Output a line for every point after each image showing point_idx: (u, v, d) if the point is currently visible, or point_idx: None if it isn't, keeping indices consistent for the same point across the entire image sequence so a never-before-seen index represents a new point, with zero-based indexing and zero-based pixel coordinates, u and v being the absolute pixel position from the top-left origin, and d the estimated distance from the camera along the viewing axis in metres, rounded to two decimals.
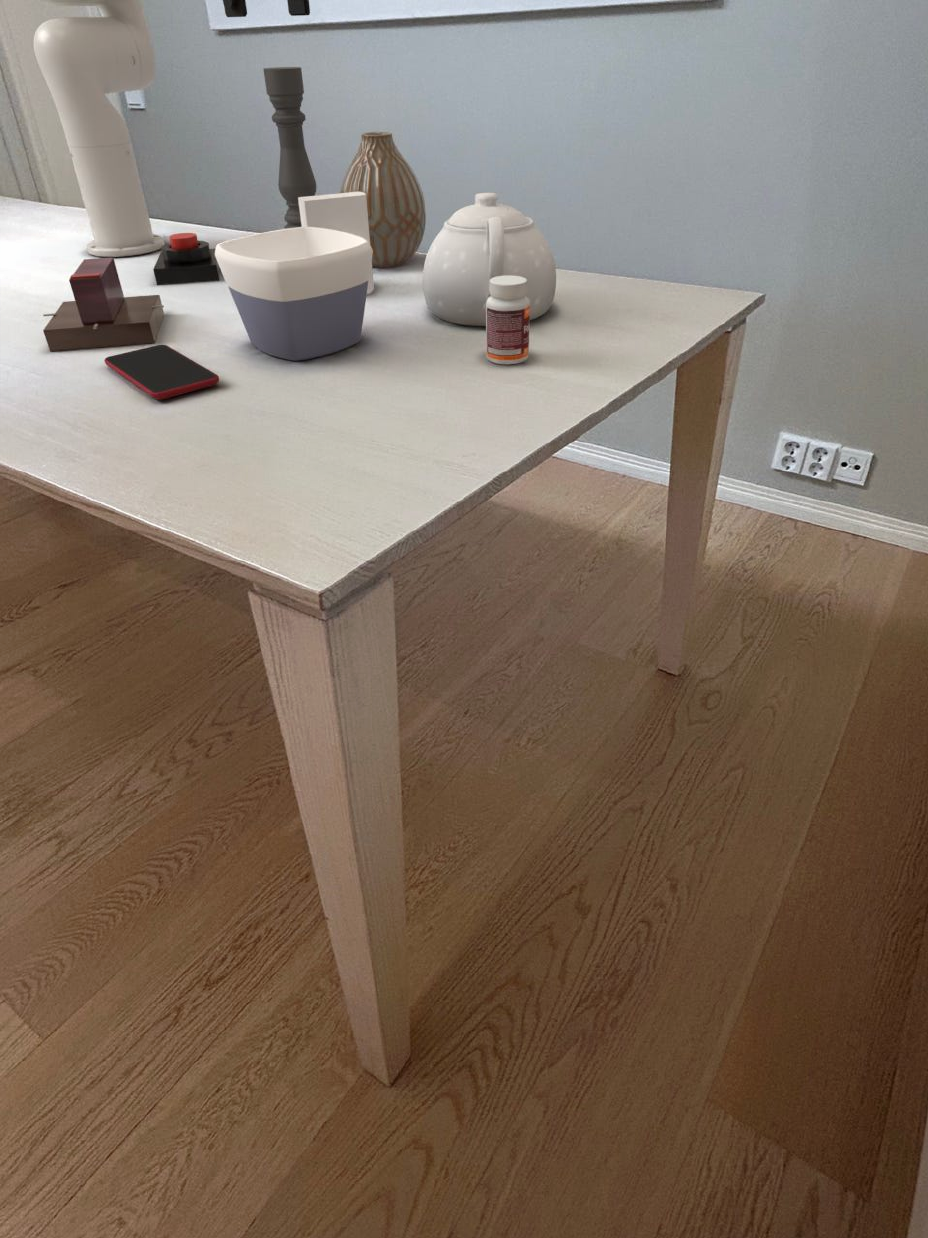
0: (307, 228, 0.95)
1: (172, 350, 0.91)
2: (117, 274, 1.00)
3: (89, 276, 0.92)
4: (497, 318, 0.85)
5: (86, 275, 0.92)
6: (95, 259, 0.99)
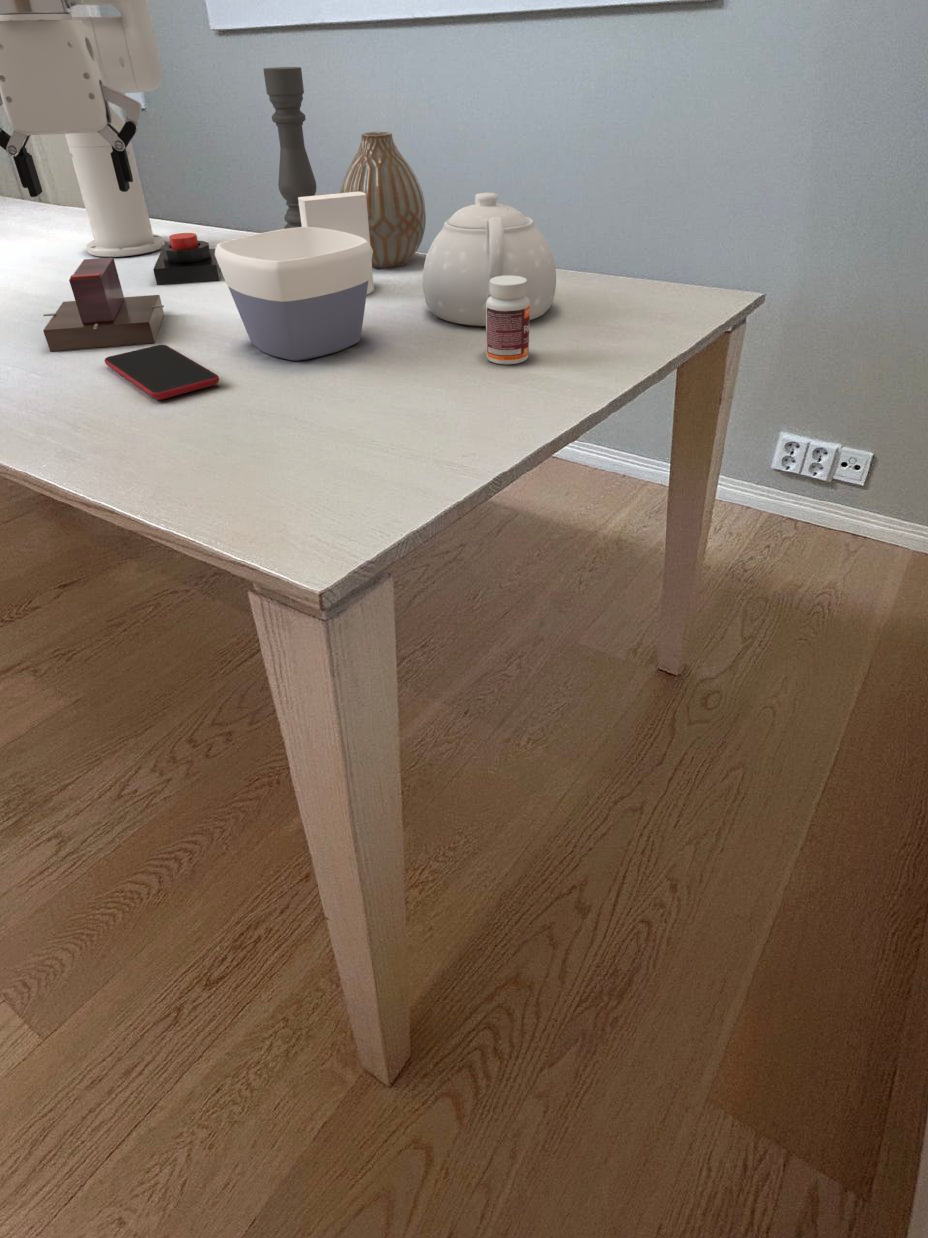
0: (307, 228, 0.95)
1: (172, 350, 0.91)
2: (117, 274, 1.00)
3: (89, 276, 0.92)
4: (497, 318, 0.85)
5: (86, 275, 0.92)
6: (95, 259, 0.99)
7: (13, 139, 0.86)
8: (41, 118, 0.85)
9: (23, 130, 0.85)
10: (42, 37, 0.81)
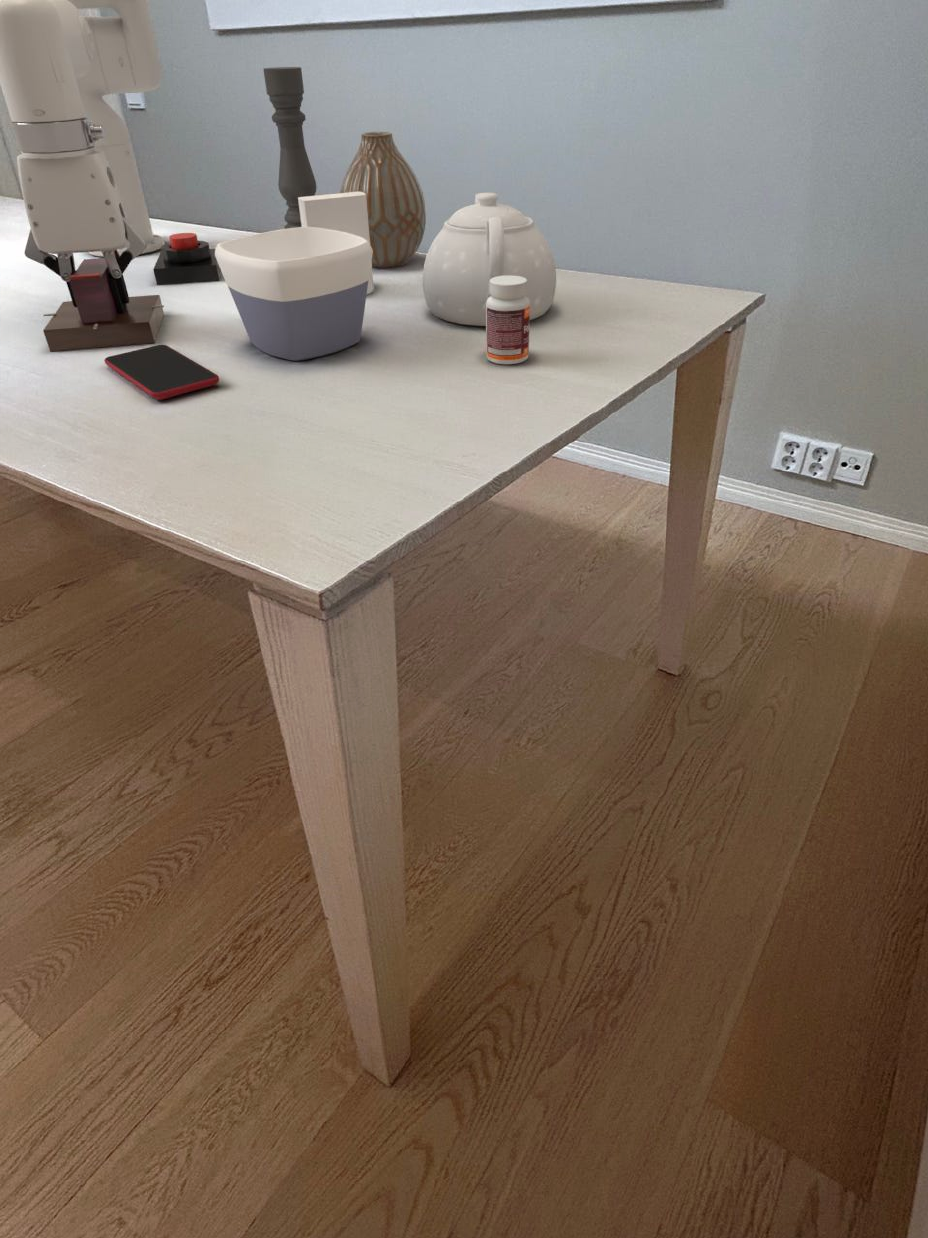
0: (307, 228, 0.95)
1: (172, 350, 0.91)
2: None
3: (89, 276, 0.92)
4: (497, 318, 0.85)
5: (86, 275, 0.92)
6: (95, 259, 0.99)
7: (67, 267, 0.94)
8: (65, 240, 0.91)
9: (48, 250, 0.92)
10: (67, 171, 0.87)
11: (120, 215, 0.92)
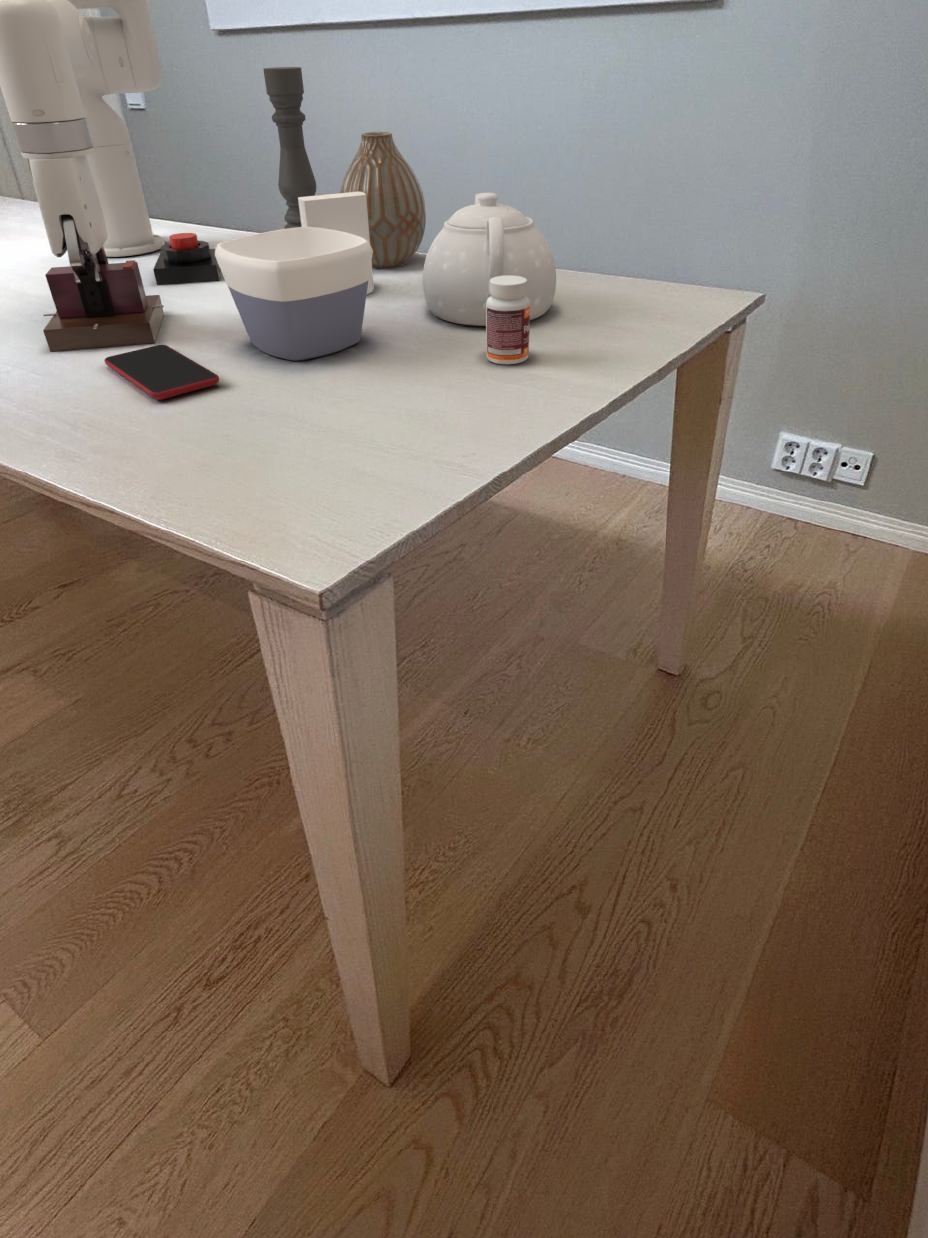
0: (307, 228, 0.95)
1: (172, 350, 0.91)
2: None
3: (133, 262, 0.96)
4: (497, 318, 0.85)
5: (130, 263, 0.96)
6: (52, 271, 0.95)
7: (98, 267, 0.93)
8: (99, 236, 0.92)
9: (96, 250, 0.91)
10: (88, 166, 0.90)
11: None
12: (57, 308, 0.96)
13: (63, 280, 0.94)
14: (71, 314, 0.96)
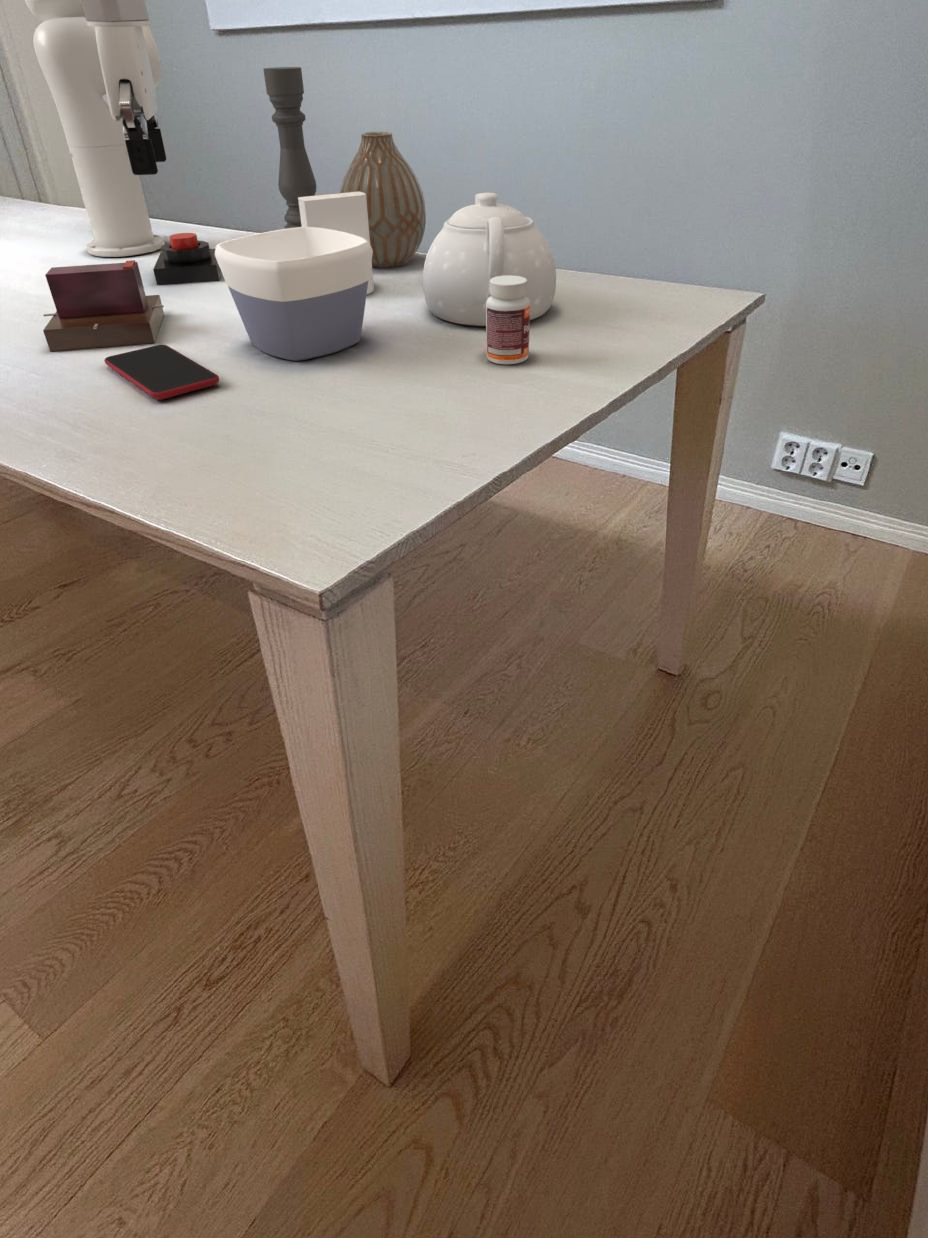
0: (307, 228, 0.95)
1: (172, 350, 0.91)
2: None
3: (133, 262, 0.96)
4: (497, 318, 0.85)
5: (130, 263, 0.96)
6: (52, 271, 0.95)
7: (145, 125, 1.02)
8: (152, 104, 1.04)
9: (150, 116, 1.03)
10: (143, 38, 1.01)
11: None
12: (57, 308, 0.96)
13: (63, 280, 0.94)
14: (71, 314, 0.96)
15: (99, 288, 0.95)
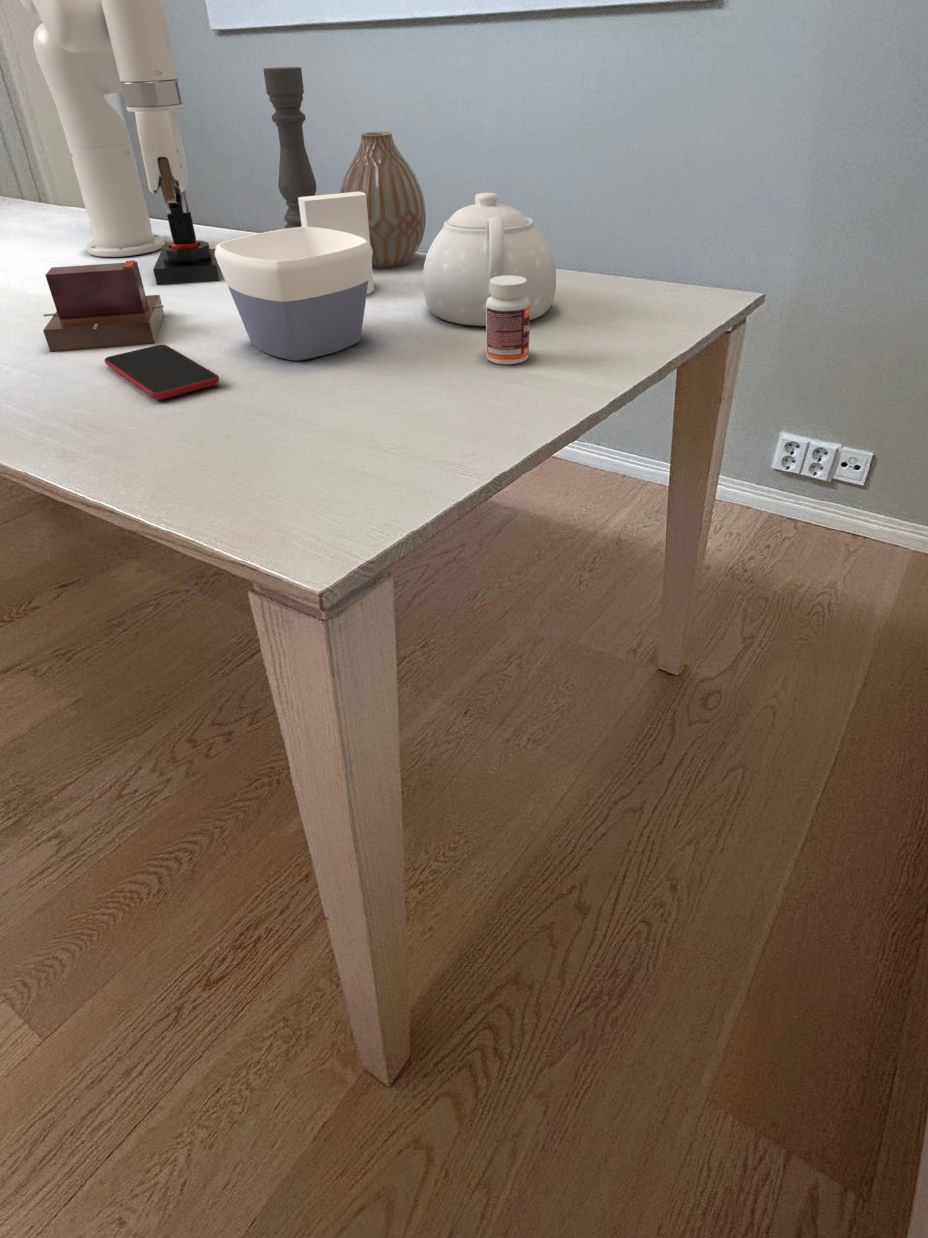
0: (307, 228, 0.95)
1: (172, 350, 0.91)
2: None
3: (133, 262, 0.96)
4: (497, 318, 0.85)
5: (130, 263, 0.96)
6: (52, 271, 0.95)
7: None
8: (185, 178, 1.13)
9: (184, 188, 1.12)
10: (177, 119, 1.11)
11: None
12: (57, 308, 0.96)
13: (63, 280, 0.94)
14: (71, 314, 0.96)
15: (99, 288, 0.95)
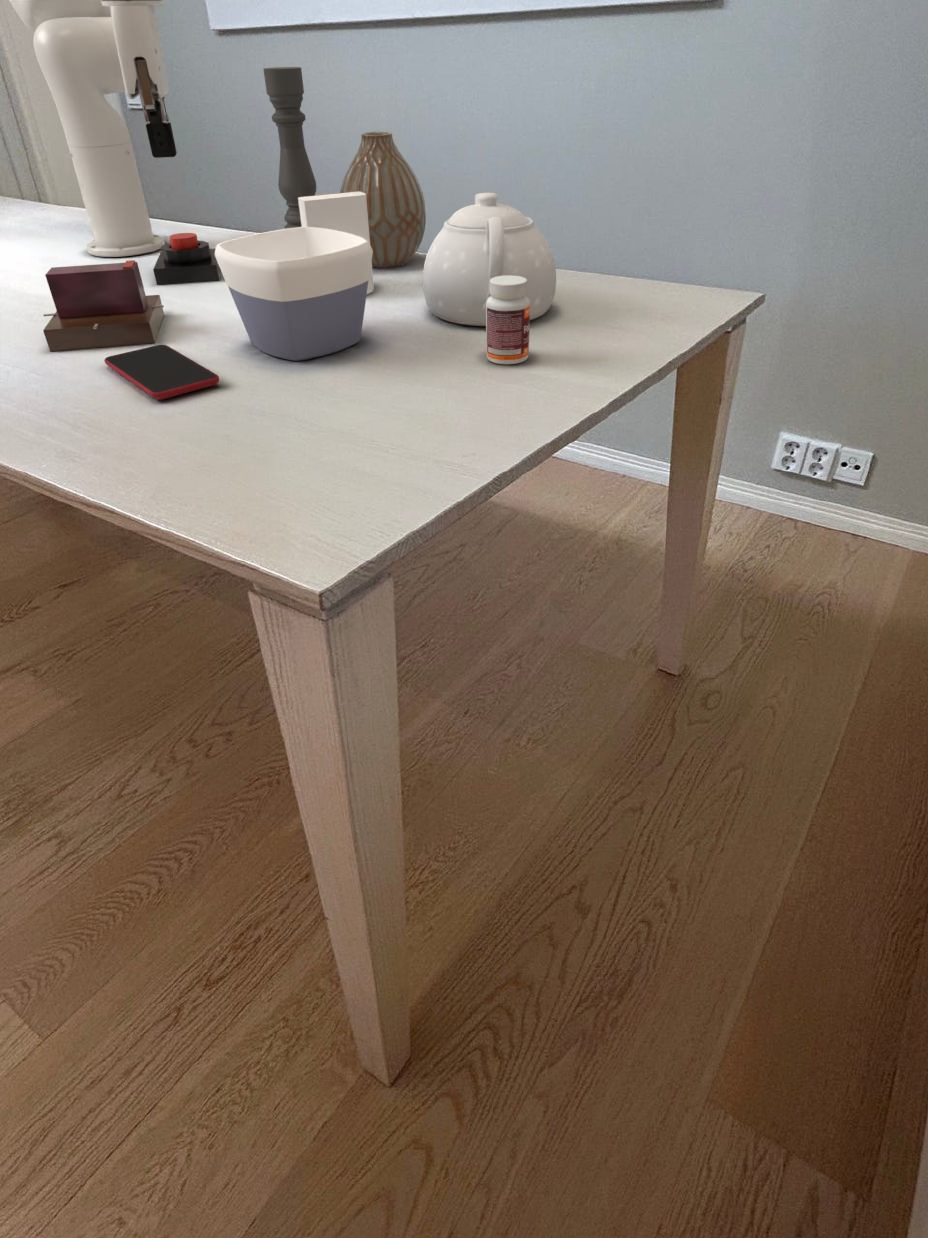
0: (307, 228, 0.95)
1: (172, 350, 0.91)
2: None
3: (133, 262, 0.96)
4: (497, 318, 0.85)
5: (130, 263, 0.96)
6: (52, 271, 0.95)
7: (165, 110, 1.09)
8: (165, 83, 1.07)
9: (163, 93, 1.06)
10: (156, 18, 1.04)
11: None
12: (57, 308, 0.96)
13: (63, 280, 0.94)
14: (71, 314, 0.96)
15: (99, 288, 0.95)
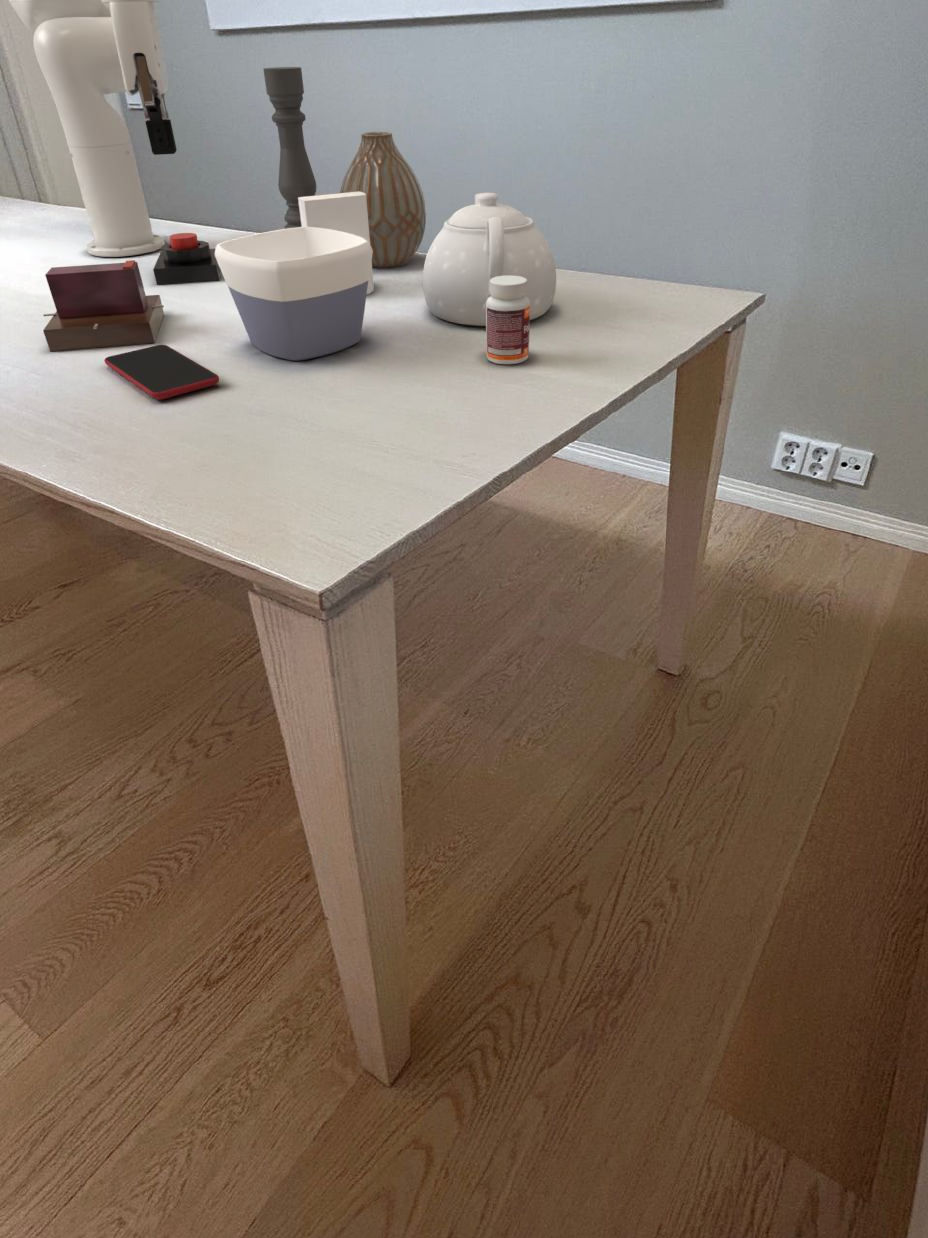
0: (307, 228, 0.95)
1: (172, 350, 0.91)
2: None
3: (133, 262, 0.96)
4: (497, 318, 0.85)
5: (130, 263, 0.96)
6: (52, 271, 0.95)
7: (164, 106, 1.09)
8: (164, 79, 1.06)
9: (163, 90, 1.05)
10: None
11: None
12: (57, 308, 0.96)
13: (63, 280, 0.94)
14: (71, 314, 0.96)
15: (99, 288, 0.95)
